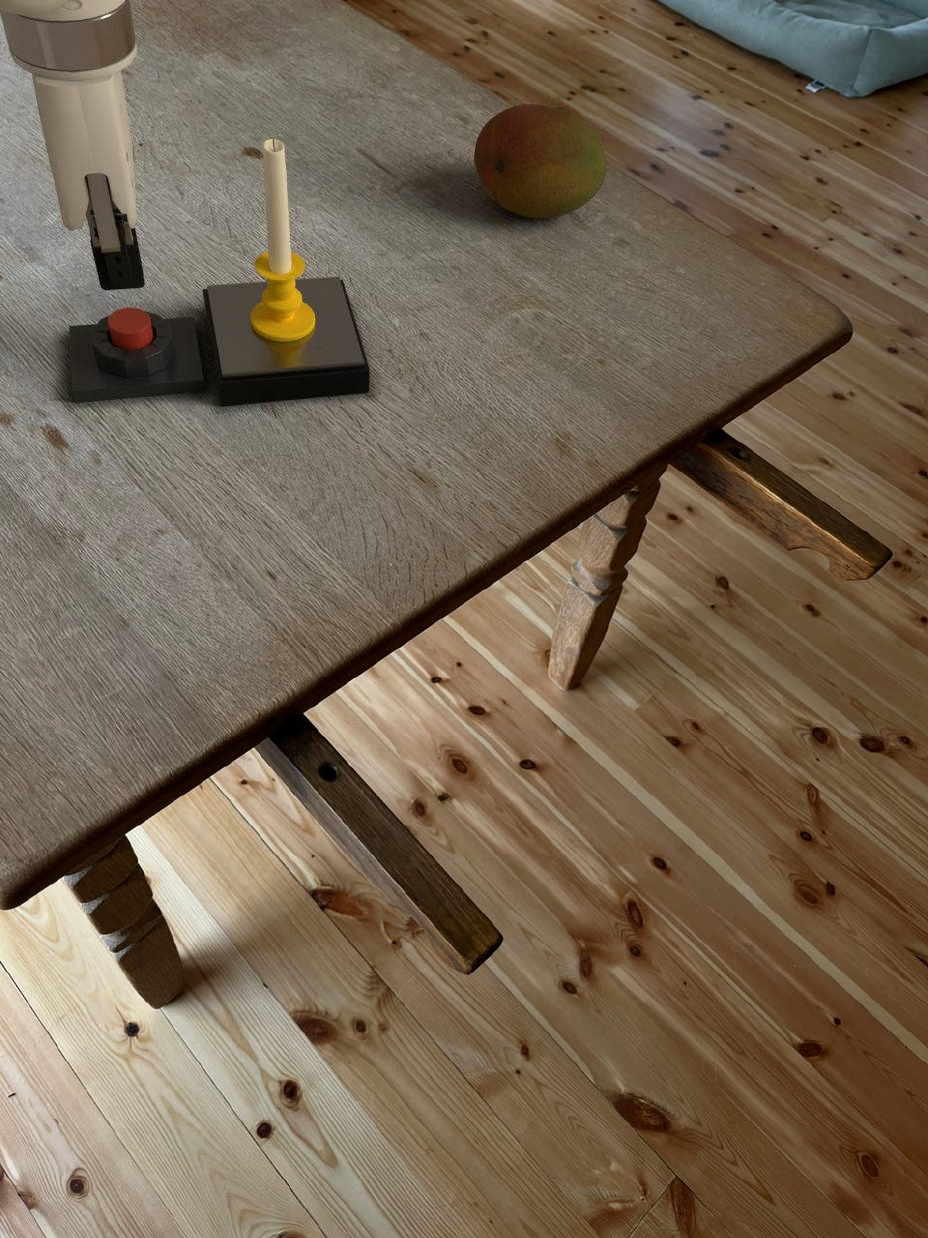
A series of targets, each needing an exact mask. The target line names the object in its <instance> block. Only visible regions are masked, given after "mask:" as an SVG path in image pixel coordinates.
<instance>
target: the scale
mask: <svg viewBox="0 0 928 1238" xmlns="http://www.w3.org/2000/svg"><path fill="white" fill-rule="evenodd" d="M294 280H295V288H296V289H297V290H298V291H299V292H300V293H301V295H302V302H304V303H306V304H307V305H308V306H309V307H310V308H312V310H313V312H314V314H315V325H314V328H313V330H312V331H311V332H310V333H309V334H308V335H306V336H305V337H303V338H301V339H298V340H295V341H290V342H279V341H272V340H269V339H266V338H264V337H262V336H261V335H259V334H258V333H257V332H256V331H255V330H254V329H253V327H252V325H251V316H250V315H251V312H252V310H253V309H254V307H255V306H256V305H258V304H259V303H260V302H262V293H263V292H264V291H265V289H267V288H268V287H267V281H254V282H253V281H251V282H239V283H237V282H236V283H225V284H224V283H223V284H210V285H206V288H203V289H202V290H201V291H202V298H203V305H204V313H205V320H206V325H207V332H208V337H209V338H208V339H209V343H210V348H211V355H212V360H213V361H212V362H213V367H214V373H215V379H216V384H217V391H218V397H219V402H220V406H221V407H230V406H240V405H251V404H261V403H271V402H282V401H283V402H285V401H293V400H303V399H304V400H305V399H313V398H324V397H325V398H326V397H335V396H346V395H355V394H356V395H357V394H367V393H370V380H371V379H370V374H371V373H370V372H371V370H370V366H369V363H368V359H367V355H366V353H365V349H364V346H363V342H362V340H361V336H360V333H359V329H358V325H357V322H356V318H355V316H354V312H353V309H352V305H351V301H350V298H349V295H348V292H347V288H346V286H345V285H346V284H345V282H344V279H341V278H340V276H327V277H312V278H299V279H297V278H295V279H294Z"/></svg>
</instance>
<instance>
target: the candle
mask: <svg viewBox="0 0 928 1238" xmlns="http://www.w3.org/2000/svg"><path fill="white" fill-rule="evenodd" d="M262 157H263V158H262V160H263V162H262V163H263V164H262V166H263V183H264V184H263V185H264V200H265V219H266V237H267V251H266V252H263V253H261V254H260V255H258V257H257V258H256V259H255V262H254V269H255V271H256V272H257V274H258V275H259V276H261V277H263V278H264V279H266V282H267V287H268V288H267V289H265V291H264V292H263V293H262V302H260V303H259V304H258V305H256V306H255V307H254V309H253V310H252V312H251V315H250V316H251V325H252V327H253V329H254V330H255V331H256V332H257V333H258V334H259V335H261V336H262V337H264V338H266V339H269V340H272V341H279V342H290V341H295V340H298V339H301V338H303V337H305V336H306V335H308V334H309V333H310V332H311V331H312V330H313V328H314V325H315V314H314V312H313V310H312V308H310V307H309V306H308V305H307V304H306V303H304V302H302V295H301V293H300V292H299V291H298V290H297V289H296V288H295V280H296V279H297V278H298V277H300V276H301V275H303V273H304V272H305V270H306V262H305V261H304V259H303V258H302V256H300V255H299V254H297V253H296V252H293V251H291V237H290V236H291V234H290V233H291V232H290V231H291V230H290V216H289V215H290V213H289V212H290V211H289V195H288V176H287V163H286V162H287V161H286V150H285V145H284V143H283V142H282V141H281V140H279V139H276V138H275V137H274V136H272V138H267V139H266V140H264V141H263V143H262Z"/></svg>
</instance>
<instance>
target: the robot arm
mask: <svg viewBox="0 0 928 1238" xmlns="http://www.w3.org/2000/svg"><path fill="white" fill-rule="evenodd" d="M0 18H1V23H2V27H3V30H4V34H5V39H6V42H7V45H8V49H9V50H8V51H9V53H10V57H11V59H12V61H13V62H14V63H15V64H16V65H17V66H18V67H19V68H21V69H22V70H24V71H25V72H28V73H30V74H31V75H32V82H33V89H34V94H35V99H36V105H37V110H38V114H39V121H40V125H41V129H42V133H43V138H44V142H45V147H46V152H47V156H48V160H49V165H50V170H51V173H52V178H53V183H54V186H55V193H56V197H57V201H58V206H59V211H60V217H61V221H62V225H63V226H64V227H65V228H66V229H67V230H68V231H71V232H73V231H75V230H82V229H83V227H84V224H85V219H86V221H87V225H88V229H89V237H90V240H89V242H90V247H91V252H92V257H93V260H94V265H95V269H96V273H97V278H98V283H99V286H100V288H101V290H103V291H118V290H119V291H120V290H131V289H133V290H134V289H142V288H144V287H145V285H146V281H145V276H144V275H145V273H144V267H143V261H142V257H141V251H140V246H139V241H138V235H137V234H138V233H137V230H136V228H135V227H133V225H135V223H136V222H137V220H138V216H137V213H138V212H137V193H136V192H137V191H136V177H135V175H136V174H135V163H134V152H133V143H132V133H131V126H130V119H129V113H128V106H127V99H126V93H125V89H124V88H125V87H124V81H123V76H122V70H125V69H126V68H127V67H128V66H130V65H131V64H132V63H133V61H134V60H135V59H136V57H137V55H138V46H137V40H136V32H135V27H134V21H133V15H132V8H131V2H130V0H0Z"/></svg>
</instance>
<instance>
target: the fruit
mask: <svg viewBox="0 0 928 1238" xmlns="http://www.w3.org/2000/svg"><path fill="white" fill-rule="evenodd" d="M602 145H603V144H602V143H601V141H600V139H599V137H598V135H597V133H596V132H595V131H594V129H593V128H592V127H591V126H590V125H589V124H587V122H585V121H583V120H582V119H581V118H579V117H577V116H576V115H574V114H573V113H570V112H568V111H565V110H563V109H559V108H557V107H552V106H548V105H543V104H537V103H536V104H535V103H532V104H531V103H524V104H523V103H522V104H517V105H514V106H511V107H508V108H506V109H504V110H502V111H500V112H498V113H497V114H495V115H494V116H492V118H490V119H489V120H488V121H487V122H486V123H485V124H484V126H483V127H482V129H481V130H480V132H479V134H478V136H477V139H476V142H475V146H474V153H473V154H474V155H473V163H474V167H475V170H476V173H477V176H478V179H479V180H480V181H479V182H480V183H481V185H482V187H483V190H485V192H486V193H487V194H488V196H489V197H490V199H492V201H494V202H495V203H496V204H497V205H498V206H500V207H501V208H503V209H505V210H507V211H508V212H511V213H514V214H517V215H519V216H522V217H527V218H533V219H552V218H558V217H561V216H566V215H569V214H571V213H573V212H575V211H577V210H579V209H581V208H582V207H584V205H586V204H587V203H589V202H590V201H591V200H593V198H594V197H595V196H596V195H597V193H598V192H599V191H600V190H601V189H602V187H603V185H604V182H605V180H606V176H607V158H606V154H605V151H604V148H603V146H602Z"/></svg>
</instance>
